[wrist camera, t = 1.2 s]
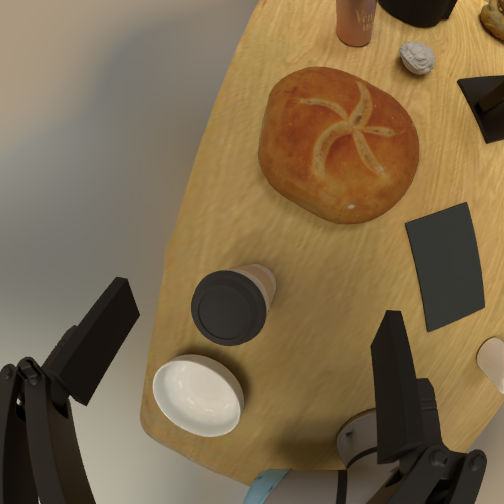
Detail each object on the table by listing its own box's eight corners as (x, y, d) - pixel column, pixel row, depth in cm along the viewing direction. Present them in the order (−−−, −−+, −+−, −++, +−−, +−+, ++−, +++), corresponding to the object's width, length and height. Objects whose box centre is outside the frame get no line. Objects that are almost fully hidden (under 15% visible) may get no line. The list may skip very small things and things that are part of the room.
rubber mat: (483, 306, 34) (485, 307, 33) (427, 331, 37) (428, 332, 37) (465, 202, 34) (467, 202, 33) (404, 223, 37) (405, 223, 36)
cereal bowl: (239, 427, 48) (228, 449, 41) (167, 395, 52) (149, 413, 45) (262, 364, 45) (251, 385, 38) (176, 330, 49) (156, 345, 42)
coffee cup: (216, 282, 45) (169, 308, 31) (255, 244, 43) (219, 256, 29) (254, 323, 45) (221, 366, 30) (295, 287, 42) (279, 321, 28)
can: (474, 346, 35) (504, 377, 23) (500, 330, 33) (533, 356, 22) (476, 373, 35) (502, 406, 23) (501, 357, 33) (530, 385, 21)
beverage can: (360, 22, 34) (364, -33, 19) (376, 45, 34) (387, -10, 19) (331, 28, 35) (327, -29, 21) (346, 50, 35) (347, -6, 21)
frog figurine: (386, 60, 34) (393, 38, 27) (414, 49, 32) (424, 29, 25) (408, 87, 34) (419, 68, 27) (436, 76, 32) (449, 57, 25)
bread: (388, 76, 34) (400, 45, 25) (419, 216, 36) (445, 216, 27) (253, 92, 40) (234, 63, 31) (273, 232, 42) (257, 235, 33)
